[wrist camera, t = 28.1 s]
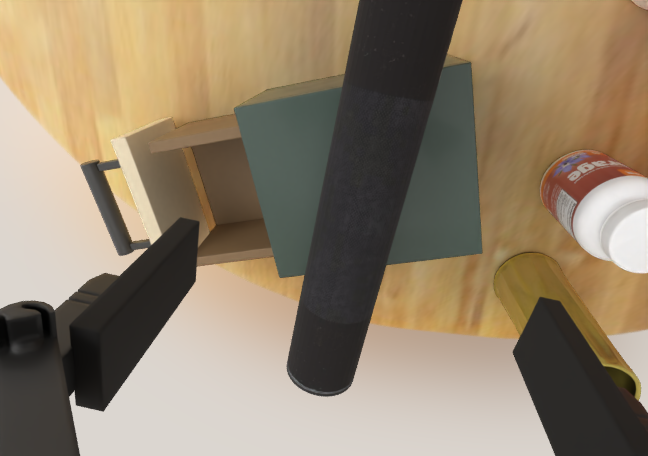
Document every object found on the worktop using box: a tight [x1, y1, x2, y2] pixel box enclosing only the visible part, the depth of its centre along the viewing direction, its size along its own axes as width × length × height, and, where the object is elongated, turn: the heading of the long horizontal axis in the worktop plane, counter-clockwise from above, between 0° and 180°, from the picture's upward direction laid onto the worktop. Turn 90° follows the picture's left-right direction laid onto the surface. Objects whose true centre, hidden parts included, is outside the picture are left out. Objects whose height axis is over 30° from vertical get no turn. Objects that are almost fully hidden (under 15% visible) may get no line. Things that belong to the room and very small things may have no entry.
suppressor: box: [287, 0, 462, 396], centre depth 27 cm, size 27×5×5 cm, turn 169°
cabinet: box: [234, 55, 482, 278], centre depth 33 cm, size 15×13×10 cm
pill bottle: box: [540, 150, 648, 273], centre depth 32 cm, size 6×6×11 cm
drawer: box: [80, 114, 274, 266], centre depth 35 cm, size 18×11×8 cm, turn 101°
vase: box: [494, 253, 641, 401], centre depth 35 cm, size 6×6×14 cm
